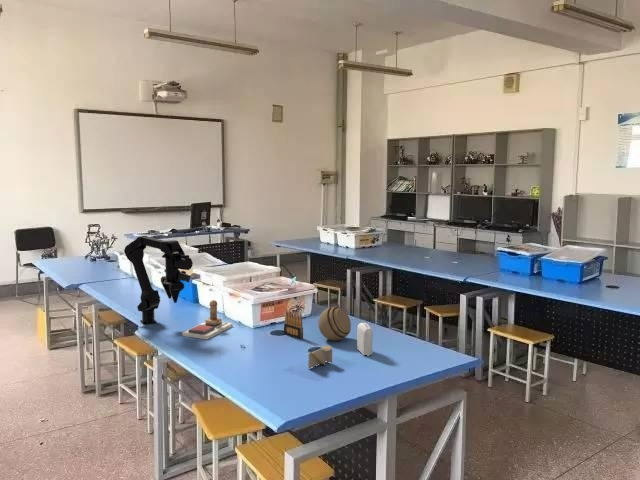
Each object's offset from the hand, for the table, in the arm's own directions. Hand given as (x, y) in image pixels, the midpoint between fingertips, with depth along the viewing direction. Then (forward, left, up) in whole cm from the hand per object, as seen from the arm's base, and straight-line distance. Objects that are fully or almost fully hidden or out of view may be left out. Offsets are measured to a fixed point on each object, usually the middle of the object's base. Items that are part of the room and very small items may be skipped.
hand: (172, 300), depth 257 cm
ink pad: (+16, +9, -12) cm, 21 cm away
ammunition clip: (+38, +44, -13) cm, 60 cm away
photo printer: (+71, +60, -13) cm, 94 cm away
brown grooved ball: (+51, +58, -13) cm, 78 cm away
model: (+76, +35, -14) cm, 85 cm away
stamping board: (+13, +13, -13) cm, 22 cm away
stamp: (+9, +17, -12) cm, 22 cm away
